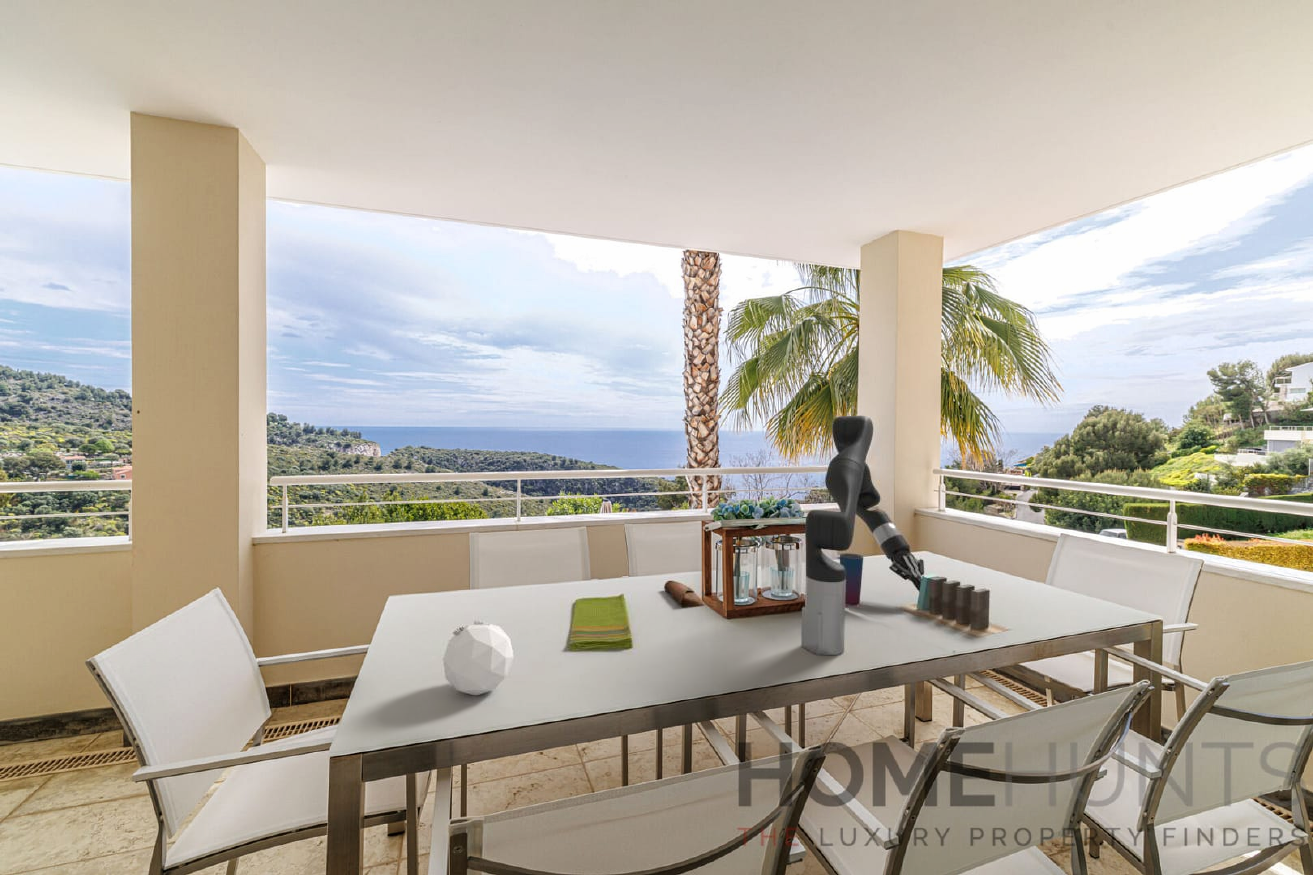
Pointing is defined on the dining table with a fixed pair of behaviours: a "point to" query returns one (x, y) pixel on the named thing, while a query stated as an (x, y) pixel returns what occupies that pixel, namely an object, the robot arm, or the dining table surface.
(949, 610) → the domino
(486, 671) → the geodesic sphere
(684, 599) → the sunglasses case
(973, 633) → the board
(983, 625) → the domino
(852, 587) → the cup
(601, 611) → the dish towel
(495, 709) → the dining table surface
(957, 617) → the domino
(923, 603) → the domino
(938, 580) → the domino
